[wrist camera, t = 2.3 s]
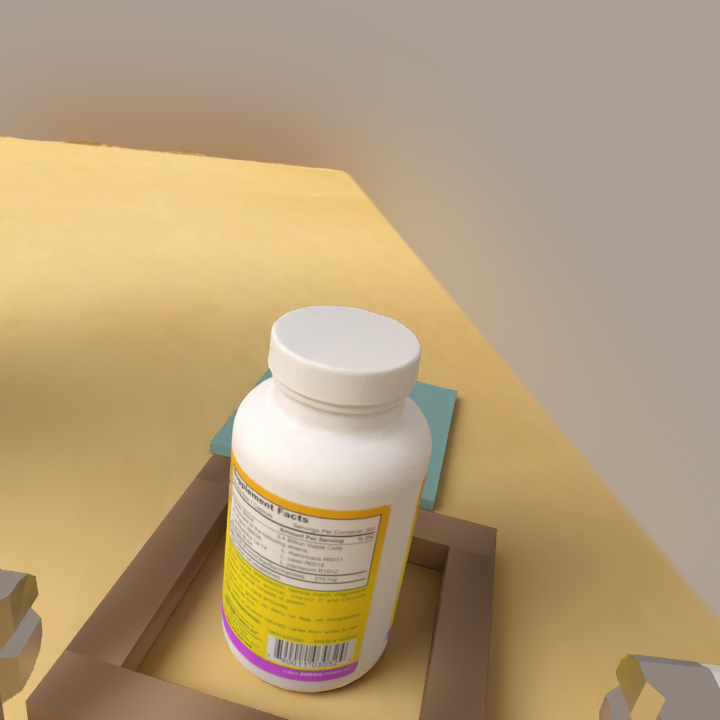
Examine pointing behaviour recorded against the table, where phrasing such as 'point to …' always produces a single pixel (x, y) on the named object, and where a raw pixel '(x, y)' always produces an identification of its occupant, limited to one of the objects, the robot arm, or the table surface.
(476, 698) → the brown wooden square frame
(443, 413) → the teal mat
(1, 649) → the robot arm
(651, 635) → the table surface
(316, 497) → the supplement bottle
